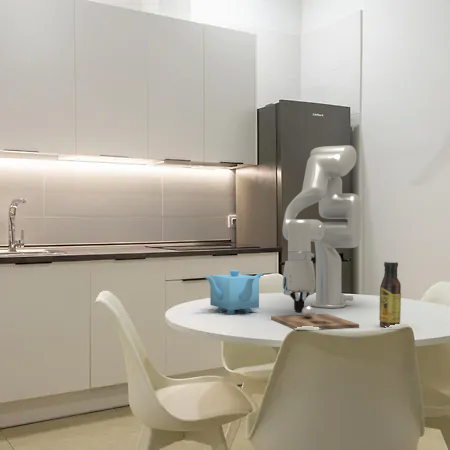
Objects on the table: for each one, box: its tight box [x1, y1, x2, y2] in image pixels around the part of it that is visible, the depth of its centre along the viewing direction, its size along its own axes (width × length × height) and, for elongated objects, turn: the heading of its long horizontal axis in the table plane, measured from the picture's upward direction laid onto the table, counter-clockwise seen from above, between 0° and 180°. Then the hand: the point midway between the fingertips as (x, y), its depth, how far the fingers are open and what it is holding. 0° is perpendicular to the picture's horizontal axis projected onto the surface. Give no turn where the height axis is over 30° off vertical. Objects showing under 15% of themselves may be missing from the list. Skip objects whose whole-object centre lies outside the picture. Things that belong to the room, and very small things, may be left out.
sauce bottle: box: [378, 260, 402, 328], centre depth 189 cm, size 7×6×20 cm
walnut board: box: [270, 313, 360, 330], centre depth 195 cm, size 20×22×1 cm
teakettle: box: [203, 269, 265, 315], centre depth 220 cm, size 19×19×15 cm
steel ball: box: [301, 305, 315, 318], centre depth 199 cm, size 4×4×4 cm
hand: (299, 312), depth 206 cm, fingers closed
